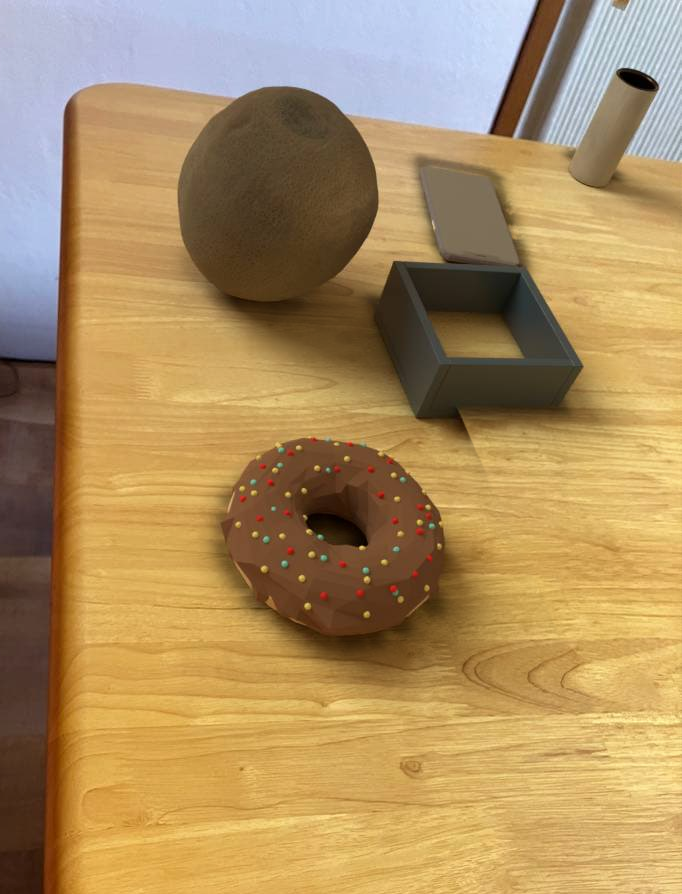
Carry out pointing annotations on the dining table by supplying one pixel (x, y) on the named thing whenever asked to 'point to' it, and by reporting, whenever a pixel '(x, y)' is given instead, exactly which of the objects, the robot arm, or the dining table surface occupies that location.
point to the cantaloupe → (276, 194)
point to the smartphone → (467, 218)
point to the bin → (462, 378)
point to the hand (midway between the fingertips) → (662, 22)
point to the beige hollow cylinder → (613, 126)
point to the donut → (328, 566)
